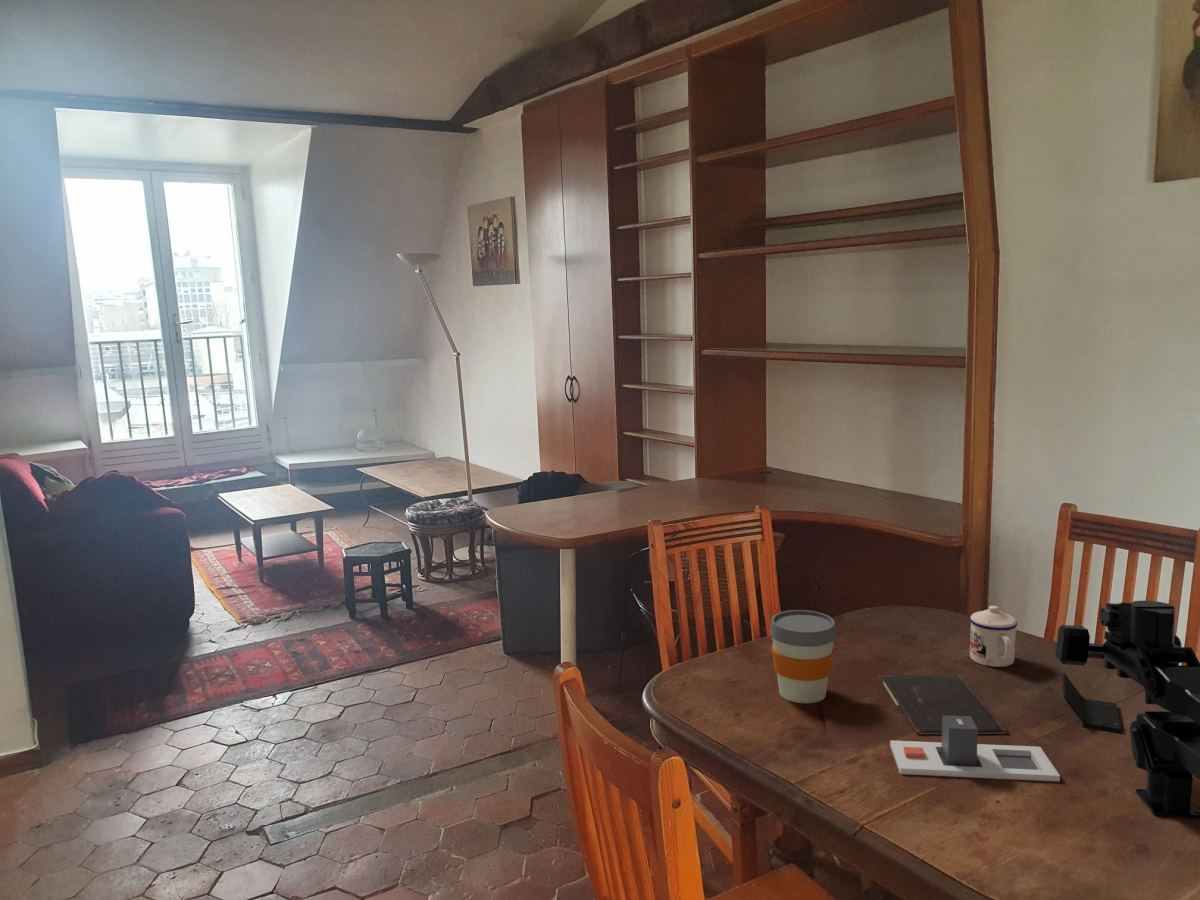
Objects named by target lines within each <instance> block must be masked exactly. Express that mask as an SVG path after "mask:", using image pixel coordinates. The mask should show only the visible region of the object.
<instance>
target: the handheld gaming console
mask: <svg viewBox="0 0 1200 900" xmlns="http://www.w3.org/2000/svg"><path fill="white" fill-rule="evenodd" d="M1061 678H1062V679H1061V680H1062V693H1063V694H1062V695H1063V699H1064V700H1065V701H1066V703H1067V704H1068V705H1069V706H1070V708H1071V710H1073V712H1074V713H1075V715H1076V716H1077V717H1078V718H1079V720H1080V722H1081V726H1082V728H1088V729H1093V730H1100V731H1106V732H1112V733H1117V732H1118V733H1119V734H1120V733H1121V734H1122V726H1121V721H1120V715H1119V711H1118V710H1119V708H1118V705H1117V703H1115V702H1110V701H1103V700H1098V699H1097V700H1095V699H1090V698H1085V696H1083V695H1081V693H1080V692H1079V691H1078V689H1077V688H1076V686H1074V684H1073V683H1072V681H1071V680H1070V678H1069V677H1068V676H1067V675H1066V674H1065V672H1063V673H1062V674H1061Z"/></svg>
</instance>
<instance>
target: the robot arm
mask: <svg viewBox="0 0 1200 900" xmlns="http://www.w3.org/2000/svg"><path fill="white" fill-rule="evenodd" d="M1098 611H1099V624H1100V625H1101V626H1102V627H1106V628H1107V630H1106V631H1104V636H1103V637H1104V640H1105V641H1104V642H1103V644H1102V643H1095V642H1093V643H1092V642H1090V641H1091V640H1090V639H1091V636H1090V632H1089V629H1088V628H1086V627H1084V626H1083V625H1081V626H1080V625H1073V624H1072V625H1067V624H1061V625H1060V626H1059V627H1058V631H1057V636H1056V637H1057V639H1056V647H1055V659H1056V660H1057V661H1059V662H1060V663H1061V664H1062V665H1067V666H1068V665H1071V666H1080V667H1081V666H1085V665H1086V664H1087V663H1088V659H1100V660H1101V659H1102V660H1104V665H1103V667H1104V668H1105V669H1107V670H1117V671H1116V676H1117V677H1118V678H1124V679H1131V680H1133V681H1134V682H1136V683H1137V684H1138V685H1140V686H1141V687H1143V689H1144V693H1145V695H1144V703H1145V704H1146V705H1156V706H1158V707H1160V708H1161V709H1164V710H1166V711H1162V710H1161V711H1157V710H1156V711H1152V710H1151V711H1146V710H1145V711H1144V712H1143V713H1141V712H1139V713H1137V715H1136V718H1135V719H1134V720H1133V721H1132V722H1131V724H1130V727H1129V732H1130V741H1131V751H1132V752H1131V753H1132V756H1133V760H1135V766H1136V768H1138V769H1141V770H1143V771H1146V784H1145V785H1146V786H1145V788H1135V793H1136V795H1137V796H1138V797H1139V799H1140V800H1141V801H1142V802H1143V803H1144V805H1145V806H1146V807H1147V808H1148V809H1149V811H1150V812H1151V813H1152V814H1153V815H1154V816H1161V817H1181V818H1198V819H1199V818H1200V810H1199V809H1198V808H1197V807H1196V806H1195V805H1194V804H1193V802H1192V798H1193V797H1192V795H1193V786H1194V785H1193V784H1194V777H1195V778H1197V779H1198V780H1199V781H1200V661H1199V658H1198V657H1197V655H1196V653H1195V651H1194V650H1193V648H1192V646H1182V645H1183V644H1182V641H1181V639H1180V638H1179V636H1178V635H1175V629H1176V623H1175V622H1176V608H1175V606H1174V605H1173V604H1170V603H1167V602H1162V601H1156V600H1134V601H1132V602H1118V603H1113V602H1109V603H1108V602H1107V603H1106V604H1105V607H1100V609H1099V610H1098ZM1180 664H1186V665H1180Z"/></svg>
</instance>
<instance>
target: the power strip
mask: <svg viewBox="0 0 1200 900" xmlns="http://www.w3.org/2000/svg"><path fill="white" fill-rule="evenodd" d="M889 746H890V749H891V752H892V754H893V757H894V761H895V763H896V766H897V769H898V772H899V774H900V775H911V776H912V775H915V776H916V775H917V776H936V777H956V778H959V777H961V778H975V779H976V778H977V779H979V778H981V779H998V780H1016V781H1017V780H1018V781H1019V780H1021V781H1040V782H1058V783H1059V782H1060V781H1061V775H1060V773H1059V772H1058V770H1057V769H1056V767H1055V766H1054V765H1053V763H1052V761H1051V760H1050V758H1049V757H1048V756H1047V755H1046V753H1045V751H1044V750H1043V749H1042V748H1041V746H1030V745H1011V744H1009V745H1006V744H983V743H981V744H980V743H977V763H976V767H967V766H946V764H945V762H944V760H943V757H942V755H941V746H942V742H941V741H939V742H935V741H911V740H908V741H907V740H890V743H889ZM833 762H834V763H835V759H834V758H832V763H833Z"/></svg>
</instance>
